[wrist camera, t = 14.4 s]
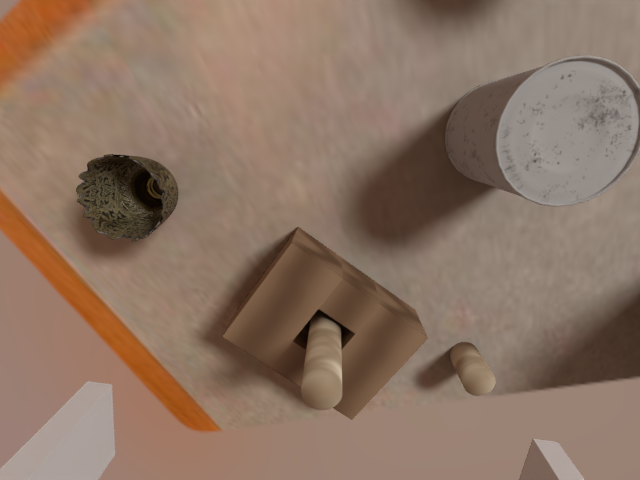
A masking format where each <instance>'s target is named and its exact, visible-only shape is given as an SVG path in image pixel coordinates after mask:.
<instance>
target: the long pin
mask: <svg viewBox="0 0 640 480" xmlns="http://www.w3.org/2000/svg"><path fill="white" fill-rule="evenodd" d="M301 396H302V399H303V401H304V402H305V403H306V404H307V405H308V406H310V407H312V408H314V409H317V410H327V409H331V408H333V407H335V406H336V405H337V404H338V403H339V402H340V400H341V398H342V352H341V324H340V323H339V322H337V321H336V320H334V319H333V318H332V317H330V316H329V315H327V314H326V313H324V312H323V311H321V310H320V309H318V310H317V311H316V313H315V314H314V315H313V316H312V318H311V320H310V327H309V334H308V342H307V349H306V356H305V364H304V371H303V379H302V386H301Z"/></svg>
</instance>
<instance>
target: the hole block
mask: <svg viewBox="0 0 640 480" xmlns="http://www.w3.org/2000/svg"><path fill="white" fill-rule="evenodd" d="M318 309H320V310H321V311H323V312H324V313H326V314H327V315H329V316H330V317H332V318H333V319H334V320H336V321H337V322H339V323H340V324H341V352H342V398H341V400H340V402H339V403H338V404H337V405H336V406H335V407H333V408H334V409H336V410H337V411H339V412H340V413H342V414H343V415H345V416H346V417H348V418H350V419H351V420H352V419H353V418H354V417H355V416H356V415H357V414H358V413H359V412H360V411H361V410H362V408H363V407H364V406H365V405H366V404H367V403H368V402H369V401H370V400H371V399H372V398H373V397H374V396H375V395H376V393H377V392H378V391H379V390H380V389H381V388H382V387H383V386H384V385H385V384H386V383H387V382H388V381H389V380H390V378H391V377H392V376H393V375H394V374H395V373H396V372H397V371H398V370H399V369H400V368H401V367H402V366H403V365H404V363H405V362H406V361H407V360H408V359H409V358H410V357H411V356H412V355H413V354H414V353H415V352H416V351H417V350H418V348H419V347H420V346H421V345H422V344H423V343H424V342H425V341H426V340H427V339H428V338H427V336H426V333H425V331H424V329H423V326H422V324H421V322H420V320H419V317H418V315H417V313H416V310H415V309H413V308H412V307H410V306H409V305H407V304H406V303H405V302H403V301H402V300H400V299H399V298H398V297H396V296H395V295H393V294H392V293H391V292H389V291H388V290H386V289H385V288H384V287H382V286H381V285H379V284H378V283H376V282H375V281H374V280H372V279H371V278H369V277H368V276H367V275H365V274H364V273H362V272H361V271H360V270H358V269H357V268H355V267H354V266H353V265H351V264H350V263H348V262H347V261H345V260H344V259H343V258H341V257H340V256H338V255H337V254H336V253H334V252H333V251H331V250H330V249H329V248H327V247H326V246H324V245H323V244H321V243H320V242H319V241H317V240H316V239H314V238H313V237H312V236H310V235H309V234H307V233H306V232H305V231H303V230H302V229H300V228H299V227H298V228H297V229H296V230H295V232H294V233H293V234H292V236H291V237H290V238H289V240H288V241H287V243H286V244H285V245H284V247H283V248H282V249H281V251H280V252H279V253H278V255H277V256H276V258H275V259H274V260H273V262H272V263H271V264H270V266H269V267H268V268H267V270H266V271H265V272H264V274H263V275H262V277H261V278H260V279H259V281H258V282H257V283H256V285H255V286H254V287H253V289H252V290H251V292H250V293H249V294H248V296H247V297H246V298H245V300H244V301H243V302H242V304H241V305H240V307H239V308H238V309H237V311H236V313H235V315H234V316H233V318H232V320H231V322H230V324H229V325H228V327H227V329H226V331H225V333H224V334H223V336H222V337H224V338H225V339H227V340H228V341H230V342H231V343H233V344H234V345H236V346H238V347H239V348H241V349H242V350H244V351H245V352H247V353H248V354H250V355H252V356H253V357H255V358H256V359H258V360H259V361H261V362H262V363H264V364H266V365H267V366H269V367H270V368H272V369H273V370H275V371H276V372H278V373H280V374H281V375H283V376H284V377H286V378H287V379H289V380H290V381H292V382H294V383H295V384H297V385H298V386H300V387H301V386H302V379H303V371H304V364H305V356H306V349H307V342H308V334H309V327H310V319H311V318H312V316H313V315H314V314H315V313H316V311H317V310H318Z"/></svg>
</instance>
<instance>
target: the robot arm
mask: <svg viewBox="0 0 640 480" xmlns="http://www.w3.org/2000/svg"><path fill="white" fill-rule="evenodd" d="M113 418H114V417H113V397H112V385H111V384H104V383H97V382H89V381H88V382H87V383H85V384H84V385H83V386H82V388H81V389H79V390H78V391H77V392H76V394H75V395H73V397H72V398H70V399H69V400H68V401H67V402H66V403H65V404H64V406H63V407H61V408H60V409H59V410H58V411H57V412H56V413H55V414H54V415H53V416H52V417H51V419H49V421H47V422H46V423H45V425H43V426H42V428H40V429H39V430H38V431H37V433H35V434H34V435H33V437H31V438H30V440H28V441H27V442H26V443H25V444H24V445H23V446H22V447H21V448H20V449H19V451H17V452H16V453H15V454H14V455H13V456H12V458H10V459H9V460H8V461H7V462H6V463H5V464H4V465H3V466H2V467H1V468H0V480H98V479H99V478H100V476H101V475H102V473H103V472H104V470H105V469H106V467H107V466H108V464H109V463H110V462H111V460H112V459H113V457H114V456H115V439H114V419H113ZM519 480H585V479H584V478H583V476H582V475H581V474H580V472H579V471H578V469H577V468H576V467H575V465H574V464H573V462H572V461H571V459H570V458H569V457H568V455H567V454H566V452H565V451H564V450H563V448H562V447H561V446H560V444H559V442H556V441H548V440H541V439H533V440H532V443H531V446H530V449H529V452H528V455H527V458H526V461H525V464H524V467H523V470H522V473H521V476H520V479H519Z"/></svg>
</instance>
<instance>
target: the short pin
mask: <svg viewBox="0 0 640 480" xmlns="http://www.w3.org/2000/svg"><path fill="white" fill-rule="evenodd" d="M449 356H450V360H451V362H452V364H453V366H454V368H455V370H456V372H457V374H458V376H459V378H460V380H461V382H462V384H463V386H464V388H465V390H466V391H467V392H468V393H470V394H472V395H475V396H481V395H485V394H487V393H489V392H490V391H491V390H492V389H493V388H494V386H495V377H494V375H493V373H492V372H491V370H490V369H489V367H488V366H487V364H486V362H485V361H484V359H483V358H482V356H481V355H480V353H479V351H478V350H477V348H476V347H475V346H474V345H473V344H471V343H468V342H462V343H458V344H456V345H455V346H454V347H453V348H452V349H451V351H450V354H449Z"/></svg>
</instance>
